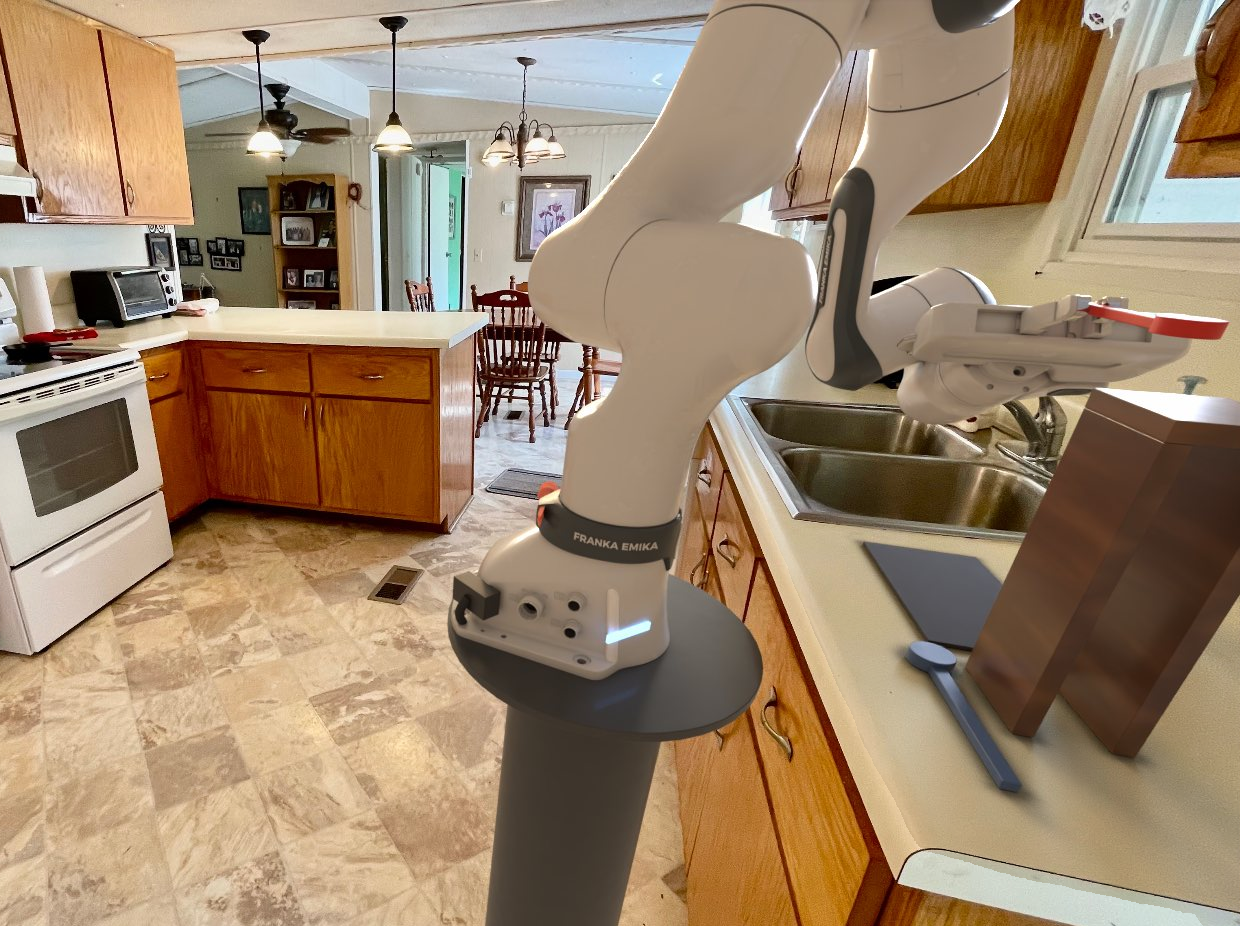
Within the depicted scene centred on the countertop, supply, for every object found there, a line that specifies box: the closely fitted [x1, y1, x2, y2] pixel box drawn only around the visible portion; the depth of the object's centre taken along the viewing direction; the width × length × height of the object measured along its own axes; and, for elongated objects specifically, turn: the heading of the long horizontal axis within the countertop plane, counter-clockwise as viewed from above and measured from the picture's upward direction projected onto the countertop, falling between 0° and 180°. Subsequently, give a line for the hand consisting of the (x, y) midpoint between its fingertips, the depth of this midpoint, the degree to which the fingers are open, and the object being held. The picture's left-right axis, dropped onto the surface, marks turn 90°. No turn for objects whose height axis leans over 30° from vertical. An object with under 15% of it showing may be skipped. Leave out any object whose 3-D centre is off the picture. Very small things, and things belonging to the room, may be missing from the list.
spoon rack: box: [964, 388, 1240, 759], centre depth 50 cm, size 8×9×26 cm
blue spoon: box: [905, 640, 1023, 793], centre depth 55 cm, size 17×4×1 cm, turn 162°
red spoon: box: [1059, 297, 1230, 341], centre depth 53 cm, size 17×4×1 cm, turn 163°
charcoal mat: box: [862, 541, 1003, 652], centre depth 71 cm, size 12×22×1 cm, turn 163°
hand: (1099, 304), depth 56 cm, fingers closed on red spoon, 1 cm apart
